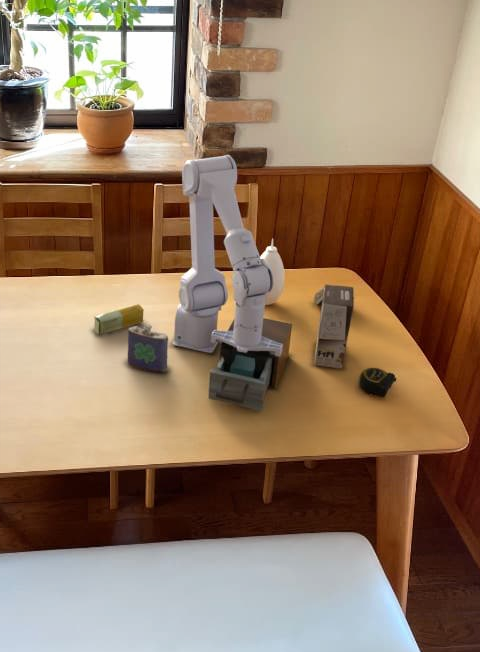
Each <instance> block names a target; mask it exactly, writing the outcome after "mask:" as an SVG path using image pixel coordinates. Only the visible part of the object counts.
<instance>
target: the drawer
mask: <svg viewBox="0 0 480 652" xmlns="http://www.w3.org/2000/svg"><path fill="white" fill-rule="evenodd" d="M236 355H241V356H246V357H250V358H255V357H256V355H257V354H252V353H248V352H246V353H244V352H239V351H237V350H236V352H235V357H236ZM274 359H275V358H271V357H269V358H268V360H267V362H266V363H265V364H264V366H263V367H262V369H261V371H260V374H259V378H258V379H256V378H251V377H246V376H242V375H237V374H233V373H228V370H227V366H226V363H225V360H224V358H223V356H222V358H221V360H220V362H219V361H218V363H217V365H216V369H215V368H211V369H210V371H209V378H208V379H209V380H208V393H207V395H208V397H207V399H209V400H213V401H218V402H222V403H225V404H230V405H234V406H239V407H243V408H247V409H252V410H256V411H261V412H262V411H263V408H264V404H265V395H266V392H267V390H268V388H267V387H268V385H269V383H270V380H271V378H272V375H273V367H274Z"/></svg>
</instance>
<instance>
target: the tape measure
mask: <svg viewBox="0 0 480 652" xmlns="http://www.w3.org/2000/svg"><path fill="white" fill-rule="evenodd" d="M397 379H398V378H396V374H394V372H393V373H392V372H387V371H386V370H384V369H382V368H379V367H368V368H365V369H364V370H363V371H362V372H361V373H360V375H359V378H358V386H359V388H360V390H361V391H362V392H363V393H365V394H367V395H370V396H374V397H379V398H386V396H387V394H388V391H389V390H390V389H391V388H392V386H393V384H394V382H395V383H396V382H397Z"/></svg>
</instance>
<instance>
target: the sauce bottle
mask: <svg viewBox="0 0 480 652" xmlns="http://www.w3.org/2000/svg"><path fill="white" fill-rule="evenodd" d="M270 243H271V244H270V245H269V246H267V247H266V248H265V250H264V252H263V253H262V254H261V255H260V259H262V258H263V260H264V261H265V263H266V264H267V265H268V266H269V267H270V269H271V272H272V275H273V288H272V290H271V291H270V292H267V293H266V298H265V306H269V305H273V303H277V301H278V300H279V298H280V297H281V296H282V293H283V290H284V286H285V279H286V278H285V277H286V276H285V267H284V263H283V261H282V258H281V255H280V254H279V252H278V248H277V247H276V246H274V237H272V239H271V242H270Z"/></svg>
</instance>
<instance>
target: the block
mask: <svg viewBox="0 0 480 652" xmlns="http://www.w3.org/2000/svg"><path fill="white" fill-rule="evenodd" d="M254 372H255V358H250V357H246V356H241V355H236V357H235V359H234V361H233V363H232V365H231V367H230V373H233V374H237V375H242V376H246V377H251V378H254Z"/></svg>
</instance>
